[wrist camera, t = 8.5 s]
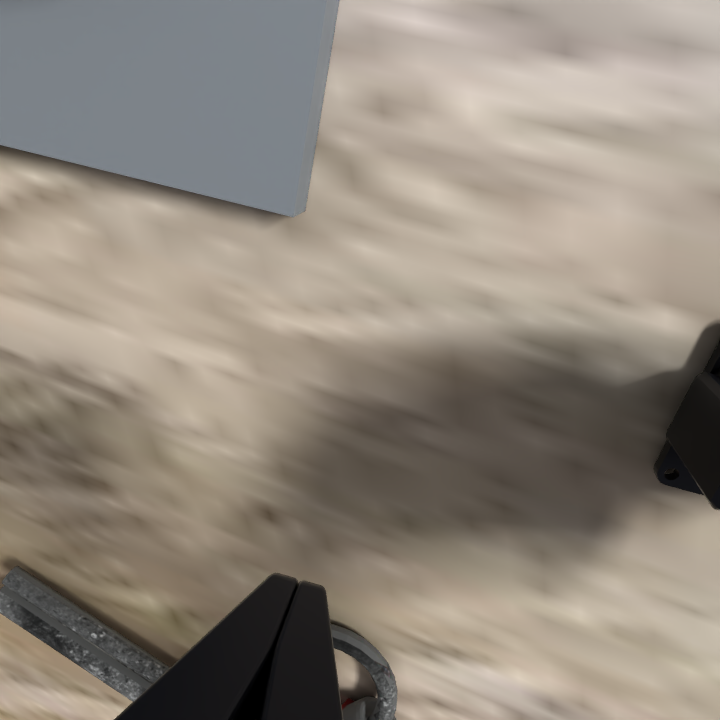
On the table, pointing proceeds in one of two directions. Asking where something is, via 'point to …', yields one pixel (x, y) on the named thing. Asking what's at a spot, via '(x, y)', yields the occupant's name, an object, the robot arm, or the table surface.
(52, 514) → the table surface
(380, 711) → the valve
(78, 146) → the housing plate
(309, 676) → the robot arm
